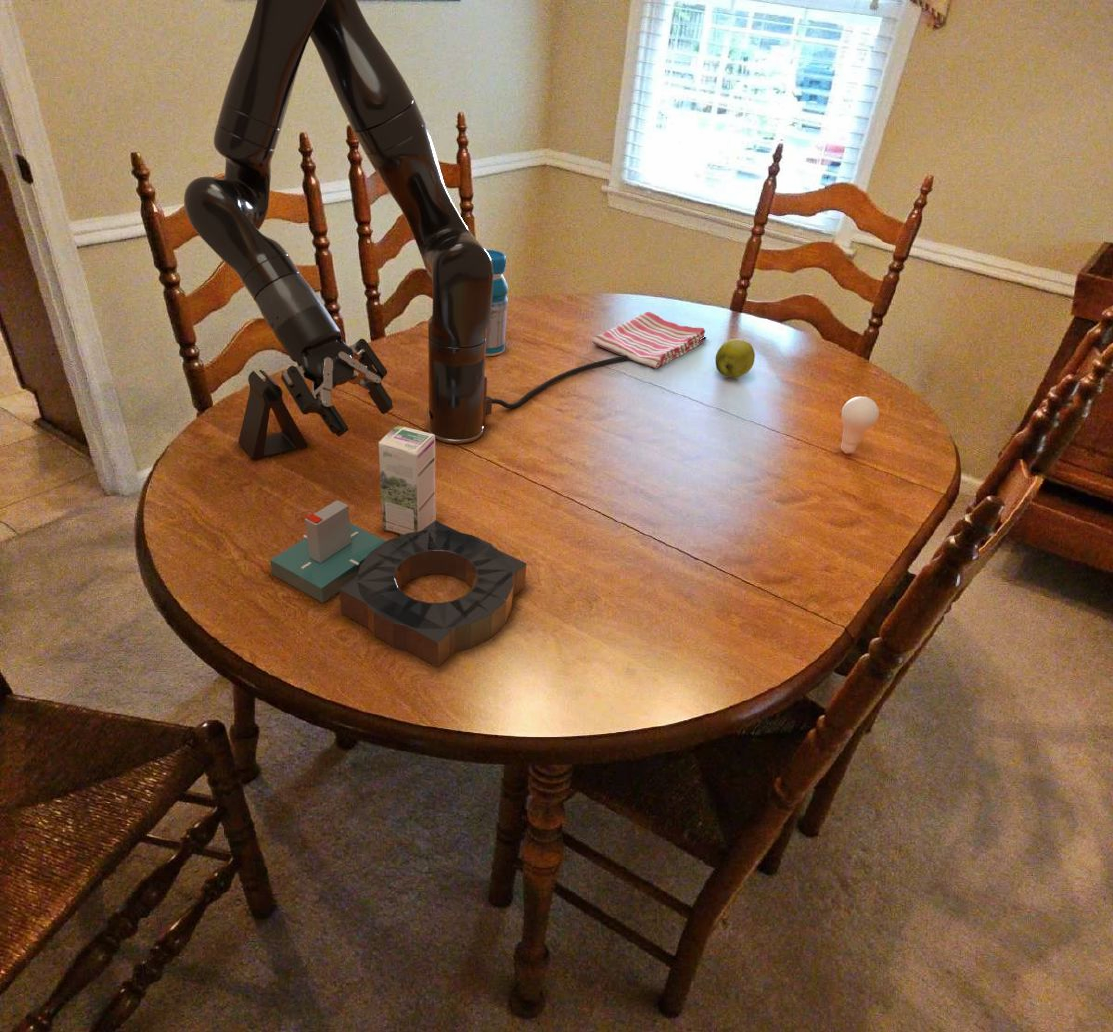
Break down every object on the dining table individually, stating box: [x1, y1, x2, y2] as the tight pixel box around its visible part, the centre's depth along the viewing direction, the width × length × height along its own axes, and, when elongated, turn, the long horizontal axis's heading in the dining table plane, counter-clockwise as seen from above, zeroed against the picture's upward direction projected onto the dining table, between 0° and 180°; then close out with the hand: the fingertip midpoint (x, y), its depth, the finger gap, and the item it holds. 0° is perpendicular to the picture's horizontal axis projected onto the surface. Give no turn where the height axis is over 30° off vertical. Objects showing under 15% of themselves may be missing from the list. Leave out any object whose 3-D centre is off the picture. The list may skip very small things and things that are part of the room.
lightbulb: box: [840, 396, 880, 455], centre depth 136 cm, size 6×6×11 cm
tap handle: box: [304, 499, 351, 563], centre depth 98 cm, size 6×2×6 cm, turn 148°
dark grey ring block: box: [338, 520, 527, 668], centre depth 96 cm, size 19×19×4 cm
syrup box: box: [377, 424, 437, 536], centre depth 105 cm, size 6×6×14 cm
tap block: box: [269, 522, 387, 604], centre depth 100 cm, size 12×10×3 cm
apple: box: [715, 338, 756, 379], centre depth 161 cm, size 8×9×8 cm
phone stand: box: [238, 369, 309, 462], centre depth 120 cm, size 9×6×12 cm, turn 128°
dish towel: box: [591, 311, 706, 370], centre depth 172 cm, size 17×23×4 cm
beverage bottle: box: [485, 249, 509, 357], centre depth 157 cm, size 8×8×20 cm
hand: (366, 422), depth 104 cm, fingers open, 8 cm apart
